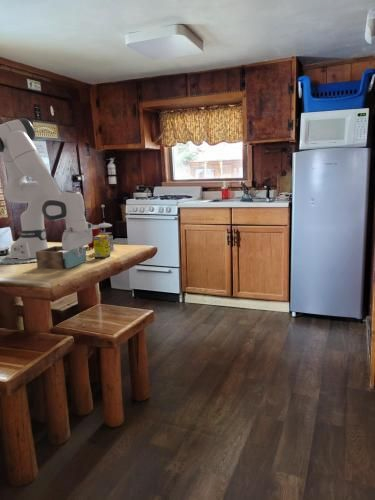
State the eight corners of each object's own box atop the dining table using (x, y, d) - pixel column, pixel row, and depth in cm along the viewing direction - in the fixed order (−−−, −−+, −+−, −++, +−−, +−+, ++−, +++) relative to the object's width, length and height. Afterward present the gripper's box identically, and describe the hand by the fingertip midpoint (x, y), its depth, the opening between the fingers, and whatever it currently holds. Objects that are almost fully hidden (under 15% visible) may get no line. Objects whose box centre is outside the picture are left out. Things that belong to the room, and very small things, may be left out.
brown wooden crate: (37, 268, 175) (35, 251, 174) (56, 261, 189) (54, 246, 187) (62, 268, 171) (60, 252, 170) (79, 261, 185) (78, 246, 184)
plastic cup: (81, 248, 221) (79, 227, 218) (87, 245, 231) (85, 225, 229) (100, 247, 220) (98, 227, 218) (105, 244, 231) (103, 224, 228)
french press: (117, 248, 215) (113, 203, 210) (112, 252, 203) (109, 205, 199) (99, 249, 215) (95, 204, 210) (94, 253, 204) (90, 206, 199)
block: (55, 263, 178) (54, 252, 177) (61, 260, 182) (60, 250, 181) (64, 263, 176) (63, 252, 175) (71, 261, 181) (69, 250, 180)
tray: (43, 267, 174) (42, 253, 172) (63, 260, 188) (61, 247, 187) (68, 268, 170) (67, 253, 169) (86, 261, 184) (85, 247, 183)
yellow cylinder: (106, 258, 190) (104, 236, 188) (94, 258, 191) (92, 236, 189) (110, 256, 196) (109, 234, 194) (99, 256, 197) (98, 234, 195)
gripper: (69, 230, 163) (72, 261, 166) (93, 223, 183) (96, 252, 185) (56, 230, 165) (60, 261, 168) (81, 223, 184) (84, 252, 187)
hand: (79, 256), depth 177 cm, fingers closed
